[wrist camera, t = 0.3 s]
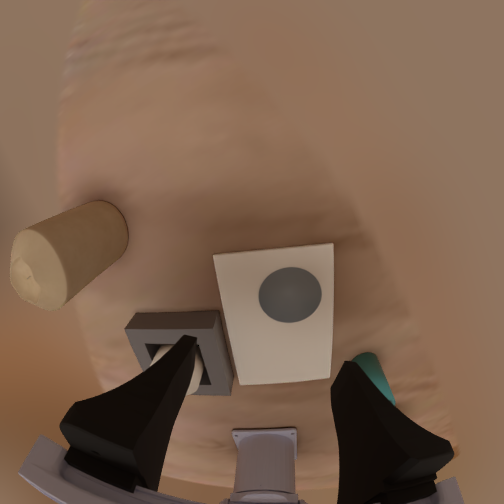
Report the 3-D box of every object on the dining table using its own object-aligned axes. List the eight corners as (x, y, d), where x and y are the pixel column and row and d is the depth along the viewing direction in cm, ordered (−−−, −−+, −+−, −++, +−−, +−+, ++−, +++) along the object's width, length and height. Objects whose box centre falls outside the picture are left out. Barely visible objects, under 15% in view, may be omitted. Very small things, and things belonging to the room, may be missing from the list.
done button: (210, 373, 24) (204, 396, 21) (167, 372, 24) (158, 393, 21) (199, 337, 22) (191, 360, 19) (153, 337, 23) (141, 358, 20)
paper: (329, 375, 25) (330, 378, 24) (240, 382, 26) (239, 385, 25) (332, 242, 20) (333, 244, 20) (213, 254, 21) (212, 256, 21)
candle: (108, 187, 20) (18, 219, 10) (140, 245, 21) (68, 308, 12) (69, 219, 21) (-11, 259, 11) (98, 270, 22) (30, 331, 13)
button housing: (233, 376, 25) (230, 395, 23) (160, 374, 26) (153, 391, 24) (218, 310, 23) (213, 328, 20) (135, 313, 23) (124, 328, 21)
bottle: (375, 371, 25) (394, 422, 18) (348, 376, 25) (362, 429, 18) (379, 350, 24) (402, 402, 17) (350, 355, 24) (368, 410, 17)
